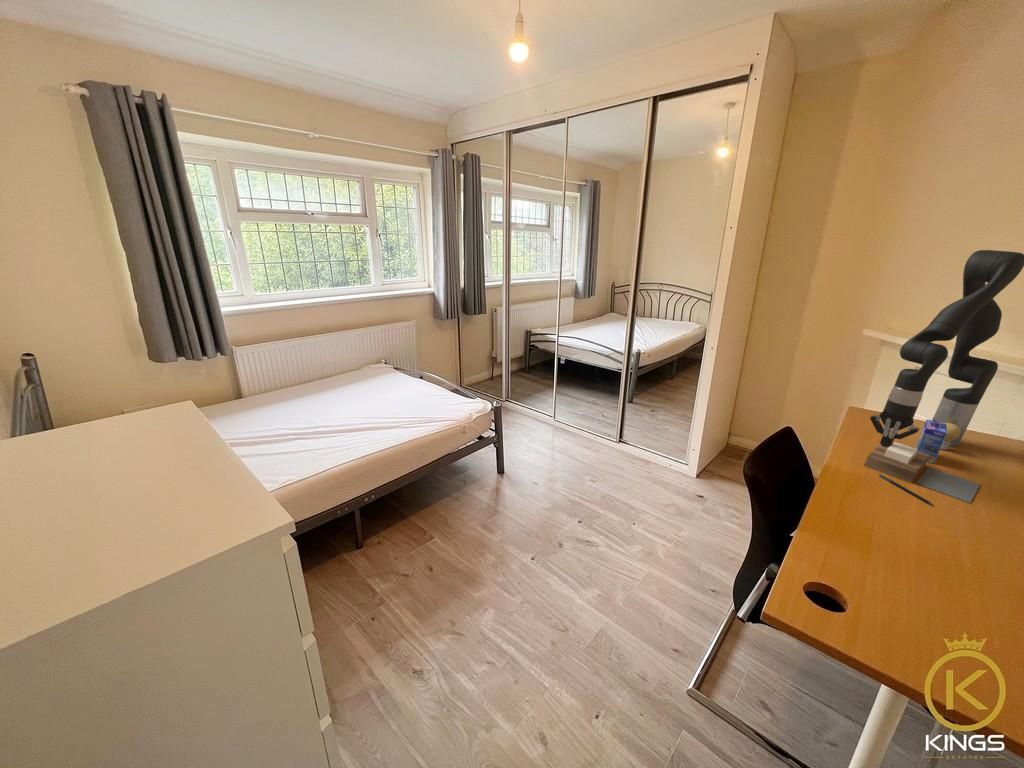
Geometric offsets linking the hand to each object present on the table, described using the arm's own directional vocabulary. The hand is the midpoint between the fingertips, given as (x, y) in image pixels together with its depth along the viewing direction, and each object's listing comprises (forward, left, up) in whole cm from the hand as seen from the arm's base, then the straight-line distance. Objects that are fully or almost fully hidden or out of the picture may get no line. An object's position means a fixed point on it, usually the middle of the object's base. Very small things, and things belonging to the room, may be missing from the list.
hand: (884, 446), depth 139 cm
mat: (0, +17, -6) cm, 18 cm away
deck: (0, +4, -6) cm, 7 cm away
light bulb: (-30, +10, -6) cm, 32 cm away
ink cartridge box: (-17, +8, -6) cm, 20 cm away
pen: (+16, +10, -6) cm, 20 cm away
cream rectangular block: (0, +4, 0) cm, 4 cm away
